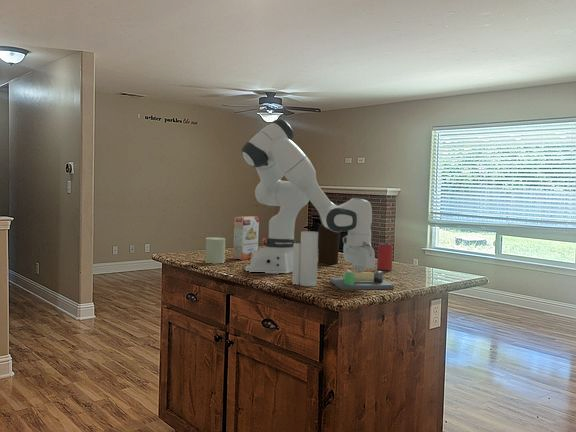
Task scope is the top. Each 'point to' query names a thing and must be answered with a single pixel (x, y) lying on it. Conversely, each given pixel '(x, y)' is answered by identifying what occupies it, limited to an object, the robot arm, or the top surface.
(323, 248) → the olive oil
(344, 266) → the top surface
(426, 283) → the top surface
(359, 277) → the spice jar
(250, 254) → the cracker box
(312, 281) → the candle
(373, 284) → the gauge board
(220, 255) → the can
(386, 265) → the beer can
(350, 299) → the top surface
